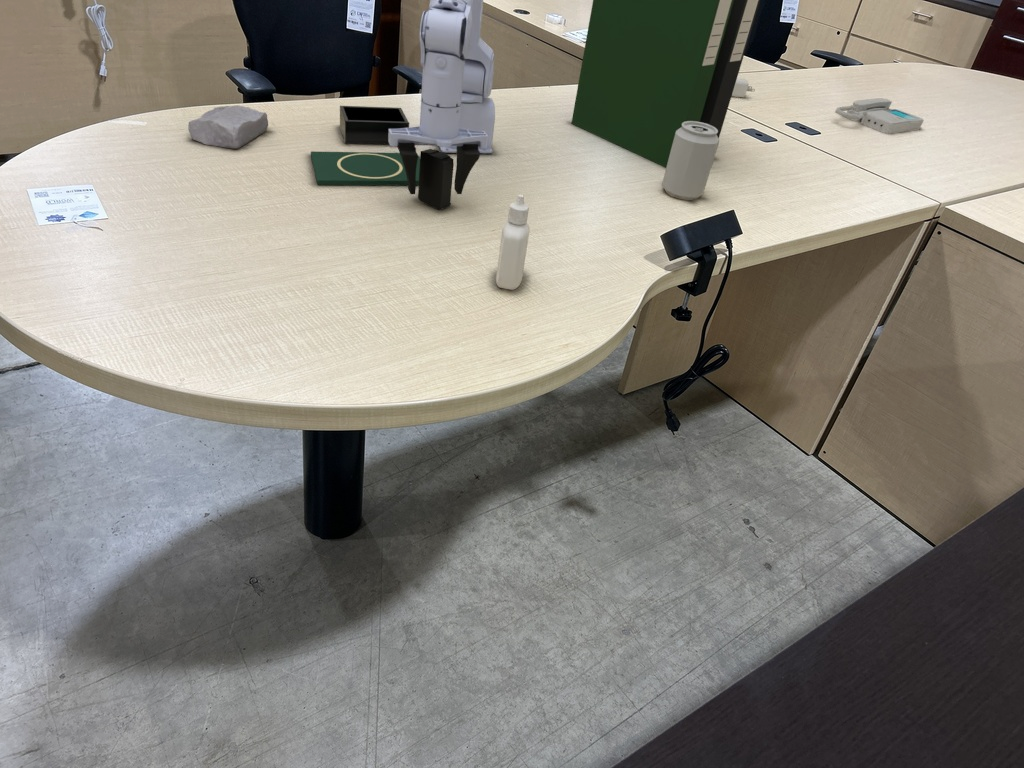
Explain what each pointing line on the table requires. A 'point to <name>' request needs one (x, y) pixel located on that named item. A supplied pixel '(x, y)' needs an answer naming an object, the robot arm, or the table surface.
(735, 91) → the usb wall charger
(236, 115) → the stone block
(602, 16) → the binder
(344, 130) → the pen tray
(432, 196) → the ink cartridge
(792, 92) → the table surface
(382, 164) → the desk mat
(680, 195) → the can
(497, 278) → the eye dropper bottle
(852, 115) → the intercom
